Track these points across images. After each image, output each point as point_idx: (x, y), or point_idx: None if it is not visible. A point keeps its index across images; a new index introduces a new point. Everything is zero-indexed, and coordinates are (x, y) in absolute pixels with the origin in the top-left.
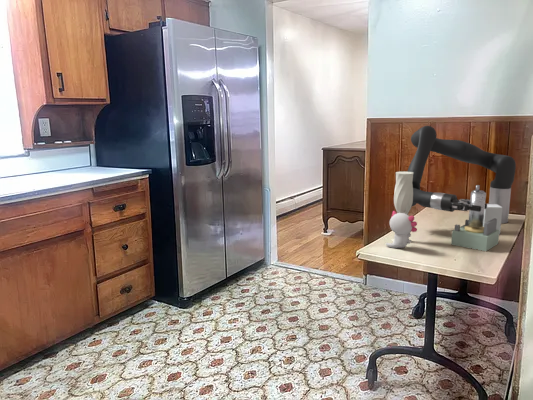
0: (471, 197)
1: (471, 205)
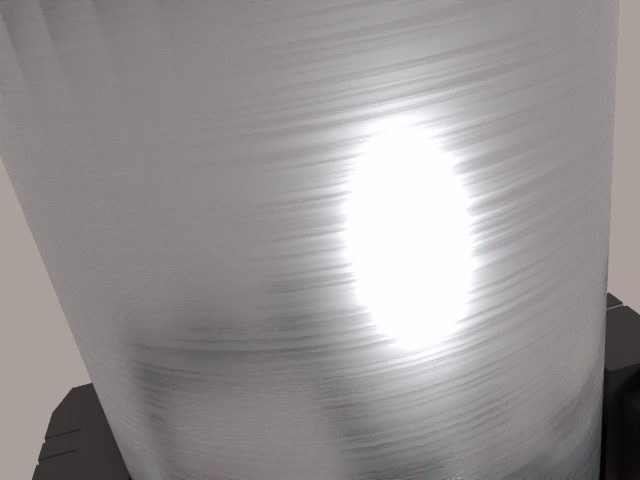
0: (606, 161)
1: (599, 429)
